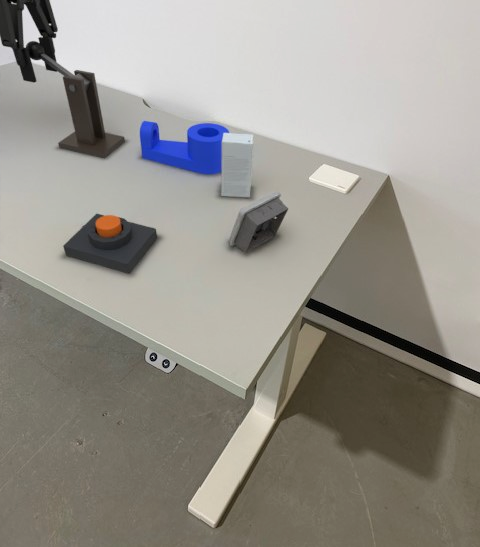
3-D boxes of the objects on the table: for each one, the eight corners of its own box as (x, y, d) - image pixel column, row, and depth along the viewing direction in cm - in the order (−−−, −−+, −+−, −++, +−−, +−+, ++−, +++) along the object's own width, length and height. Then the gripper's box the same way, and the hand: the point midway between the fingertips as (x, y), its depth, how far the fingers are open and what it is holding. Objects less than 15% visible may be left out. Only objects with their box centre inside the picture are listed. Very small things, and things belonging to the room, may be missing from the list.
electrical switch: (263, 225, 80) (271, 184, 73) (282, 240, 78) (293, 200, 71) (227, 245, 75) (232, 204, 68) (246, 262, 73) (254, 221, 66)
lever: (20, 55, 88) (22, 39, 85) (32, 50, 90) (34, 35, 88) (79, 97, 90) (83, 83, 87) (88, 91, 93) (92, 78, 90)
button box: (65, 255, 71) (60, 237, 68) (98, 223, 78) (94, 204, 75) (129, 273, 68) (126, 255, 66) (157, 238, 75) (155, 220, 73)
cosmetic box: (250, 187, 89) (254, 133, 81) (249, 198, 86) (254, 143, 78) (221, 185, 89) (223, 131, 81) (220, 196, 86) (221, 141, 78)
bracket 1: (59, 147, 97) (40, 76, 87) (81, 132, 104) (67, 64, 93) (104, 158, 95) (91, 86, 84) (125, 141, 101) (114, 72, 91)
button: (92, 234, 70) (90, 226, 68) (105, 221, 72) (103, 212, 71) (113, 240, 69) (112, 231, 68) (126, 226, 72) (124, 218, 70)
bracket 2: (232, 158, 98) (233, 126, 93) (221, 177, 92) (222, 144, 86) (154, 144, 101) (151, 113, 96) (138, 162, 94) (134, 129, 89)
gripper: (-17, -51, 68) (25, 93, 84) (58, -61, 82) (82, 65, 98) (-55, -55, 70) (-6, 87, 85) (26, -64, 83) (55, 60, 99)
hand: (41, 75), depth 92 cm, fingers open, 7 cm apart
